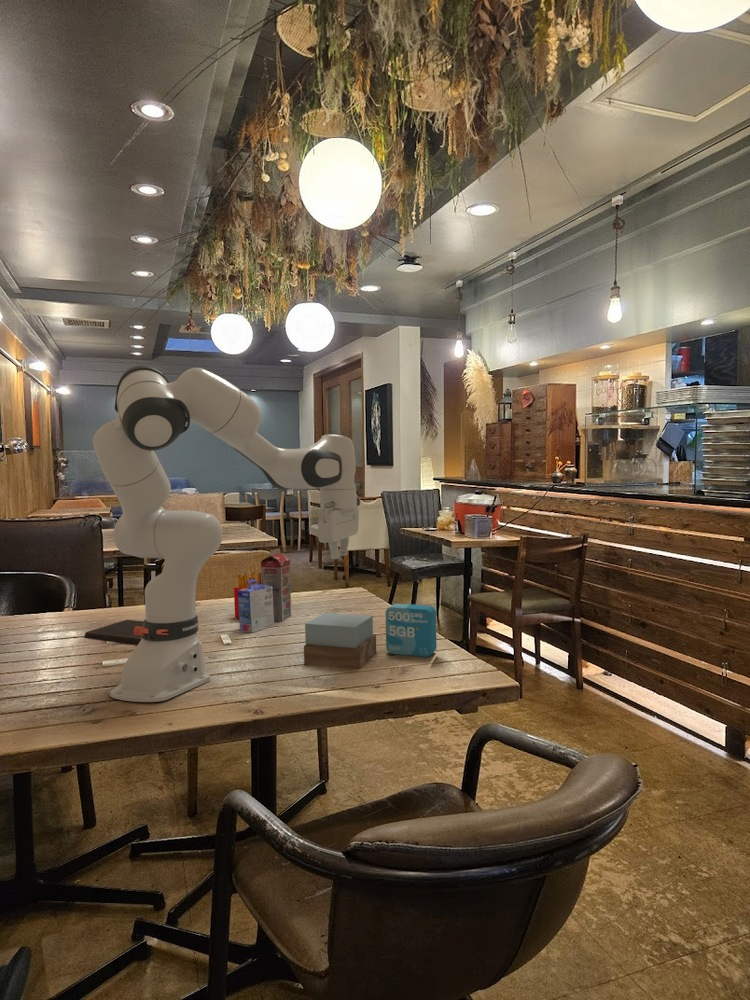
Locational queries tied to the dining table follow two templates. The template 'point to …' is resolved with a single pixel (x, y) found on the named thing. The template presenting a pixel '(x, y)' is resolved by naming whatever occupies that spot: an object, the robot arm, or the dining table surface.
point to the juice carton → (278, 583)
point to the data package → (411, 630)
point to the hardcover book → (117, 632)
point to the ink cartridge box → (255, 607)
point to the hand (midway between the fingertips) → (339, 557)
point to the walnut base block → (340, 654)
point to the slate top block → (339, 630)
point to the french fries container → (243, 585)
